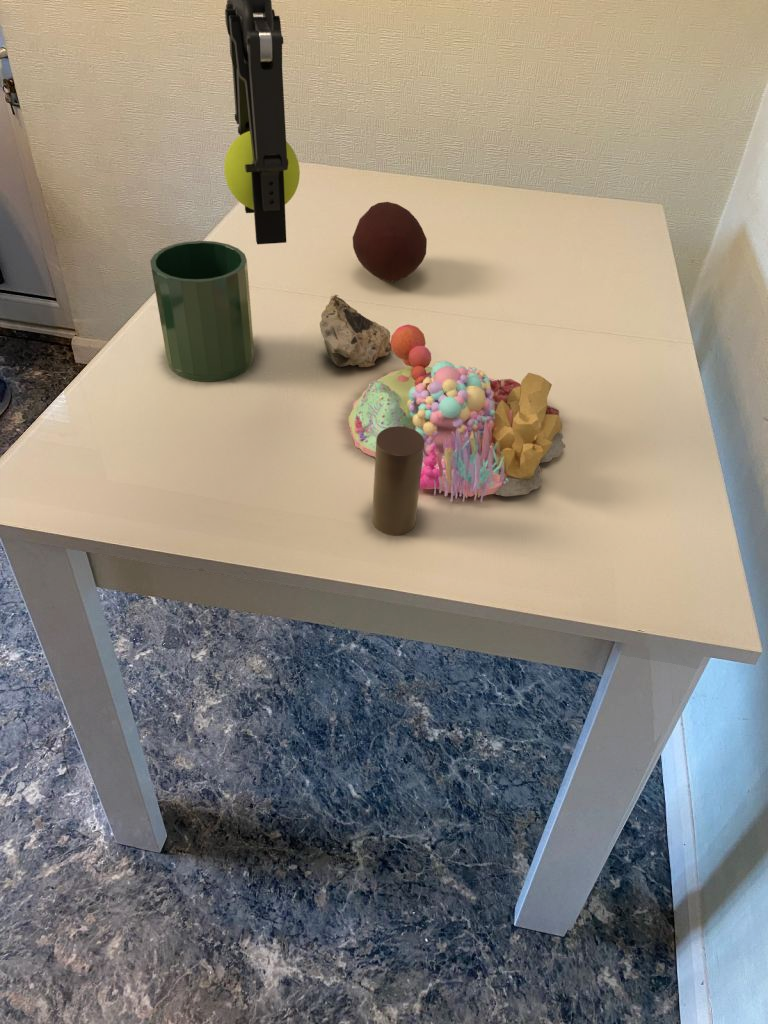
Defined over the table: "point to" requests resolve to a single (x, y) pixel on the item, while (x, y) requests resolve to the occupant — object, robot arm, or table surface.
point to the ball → (241, 180)
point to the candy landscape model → (462, 422)
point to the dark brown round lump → (389, 241)
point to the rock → (352, 335)
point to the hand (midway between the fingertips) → (265, 225)
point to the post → (397, 479)
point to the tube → (204, 309)
